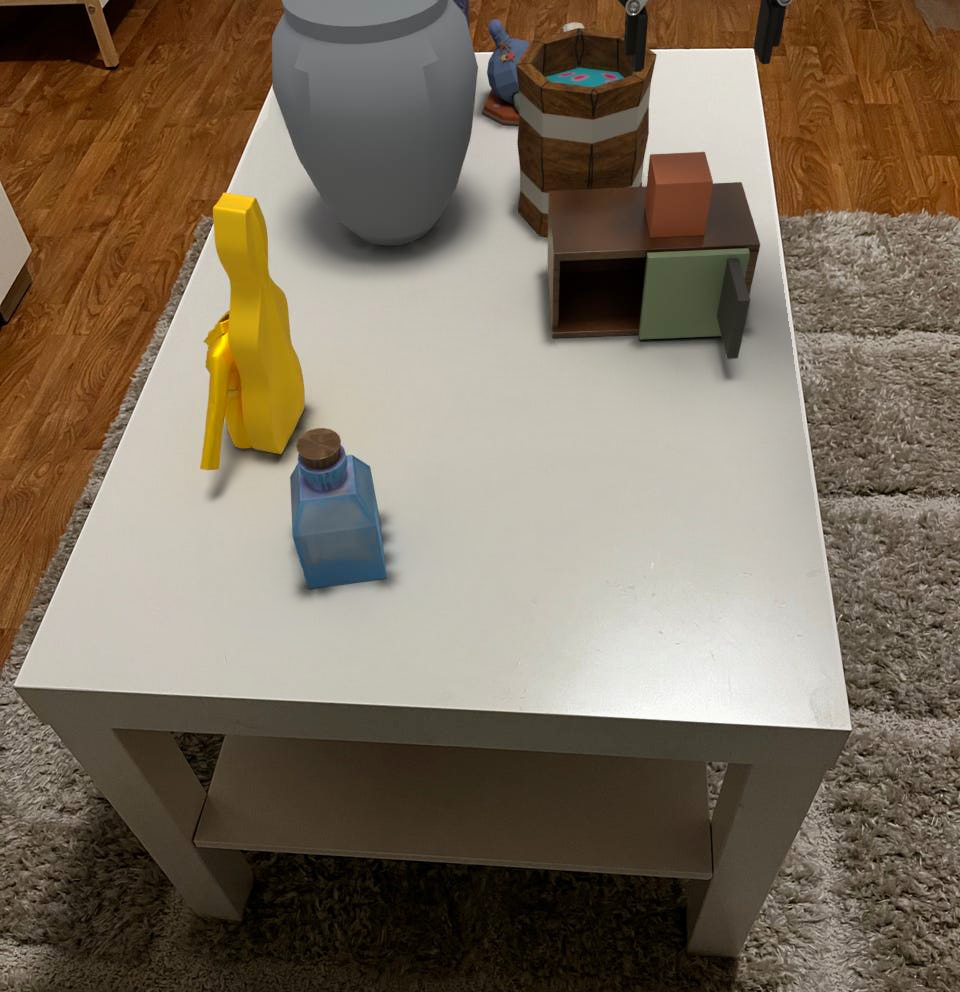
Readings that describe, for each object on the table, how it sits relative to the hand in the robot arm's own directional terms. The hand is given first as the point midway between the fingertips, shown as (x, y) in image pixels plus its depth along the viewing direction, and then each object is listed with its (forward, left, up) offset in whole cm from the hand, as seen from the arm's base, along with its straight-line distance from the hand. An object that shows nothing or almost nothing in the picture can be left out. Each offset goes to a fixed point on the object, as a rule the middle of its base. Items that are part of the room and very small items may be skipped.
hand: (699, 60), depth 76 cm
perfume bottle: (+29, +30, -23) cm, 48 cm away
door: (-1, +7, -23) cm, 24 cm away
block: (0, 0, -14) cm, 14 cm away
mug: (+7, -21, -23) cm, 32 cm away
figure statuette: (+37, +15, -23) cm, 46 cm away
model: (+11, -40, -23) cm, 48 cm away
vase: (+27, -16, -23) cm, 39 cm away
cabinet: (+2, -1, -23) cm, 23 cm away
